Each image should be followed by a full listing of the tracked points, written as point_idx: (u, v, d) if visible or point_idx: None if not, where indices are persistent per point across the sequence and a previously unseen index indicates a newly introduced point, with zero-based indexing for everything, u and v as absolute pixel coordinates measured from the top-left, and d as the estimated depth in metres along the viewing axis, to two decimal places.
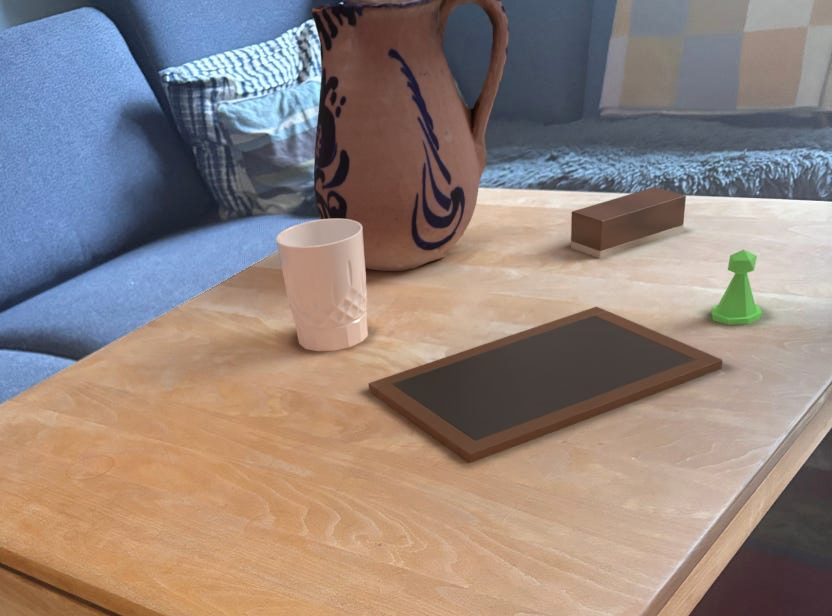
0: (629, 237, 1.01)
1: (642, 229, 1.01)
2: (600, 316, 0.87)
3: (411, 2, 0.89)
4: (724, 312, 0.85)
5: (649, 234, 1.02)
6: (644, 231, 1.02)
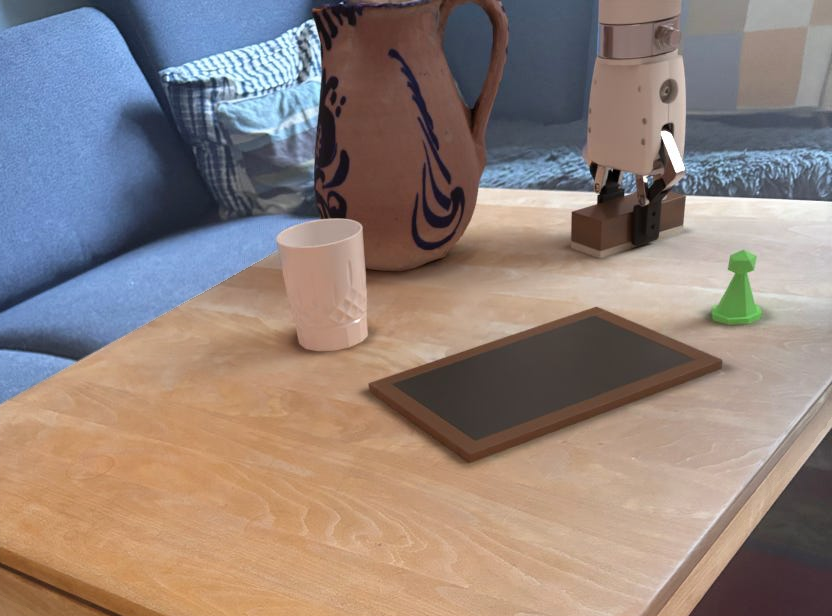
0: (629, 237, 1.01)
1: None
2: (600, 316, 0.87)
3: (411, 2, 0.89)
4: (724, 312, 0.85)
5: None
6: None
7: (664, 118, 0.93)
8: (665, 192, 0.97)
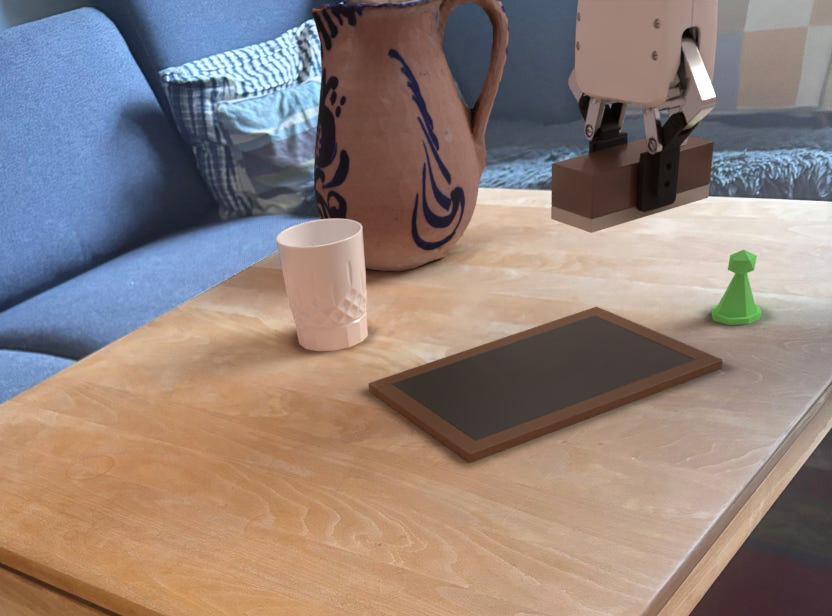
0: (633, 200, 0.71)
1: None
2: (600, 316, 0.87)
3: (411, 2, 0.89)
4: (724, 312, 0.85)
5: None
6: None
7: (686, 18, 0.63)
8: (686, 133, 0.67)
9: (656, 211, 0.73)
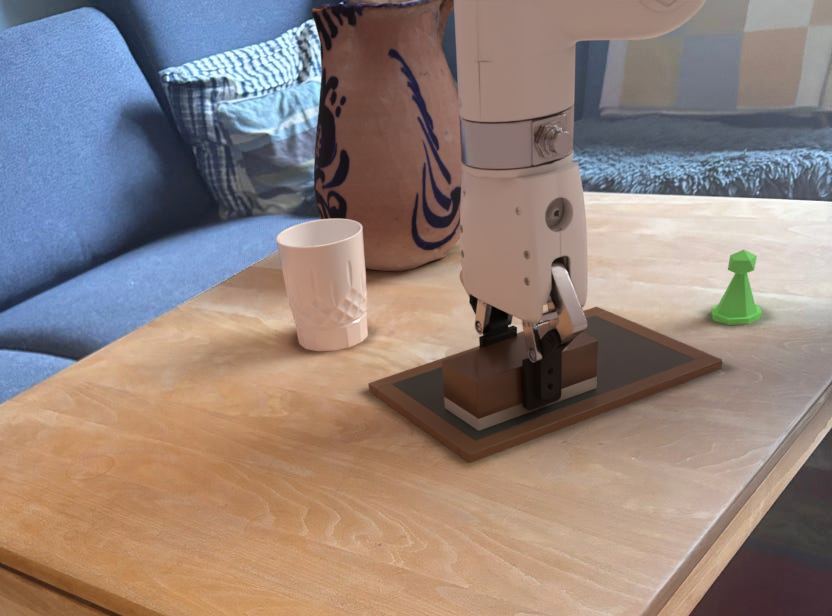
0: (519, 398, 0.74)
1: None
2: (600, 316, 0.87)
3: (411, 2, 0.89)
4: (724, 312, 0.85)
5: None
6: None
7: (555, 250, 0.65)
8: (563, 345, 0.70)
9: None
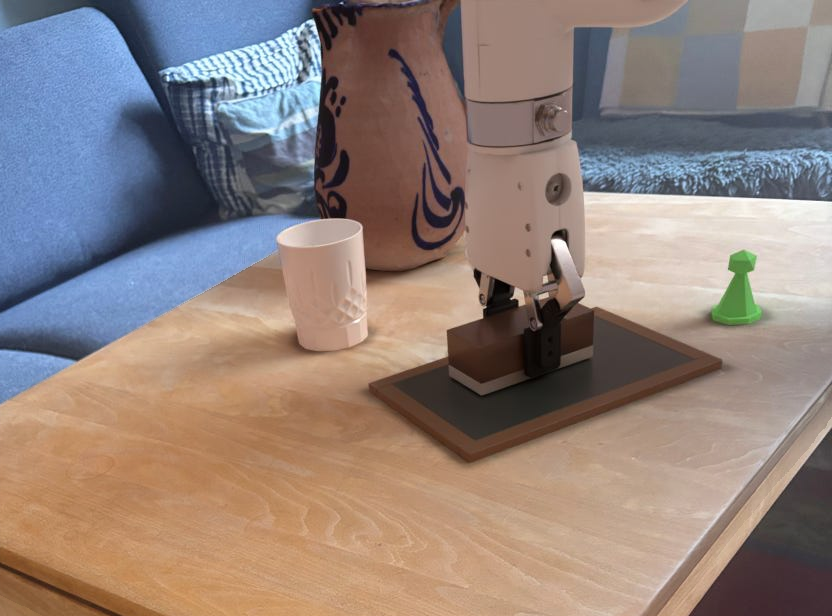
0: (520, 365, 0.78)
1: None
2: (600, 316, 0.87)
3: (411, 2, 0.89)
4: (724, 312, 0.85)
5: None
6: None
7: (554, 223, 0.69)
8: (562, 314, 0.74)
9: None
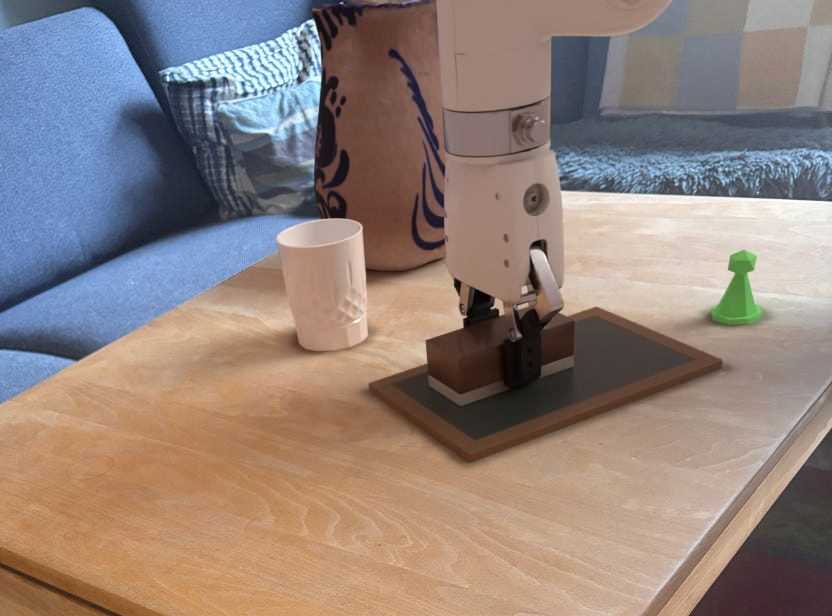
0: (499, 375, 0.77)
1: None
2: (600, 316, 0.87)
3: (411, 2, 0.89)
4: (724, 312, 0.85)
5: None
6: None
7: (533, 233, 0.69)
8: (542, 325, 0.73)
9: None
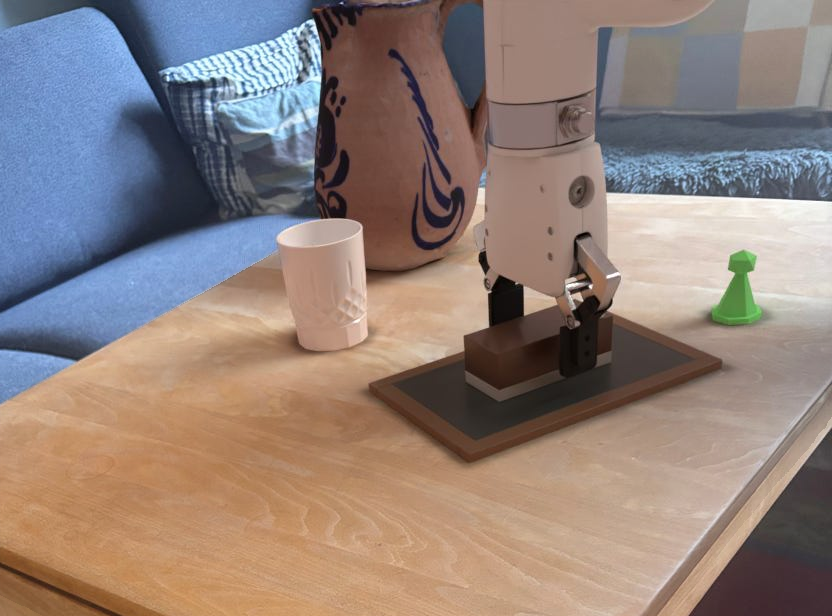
0: (538, 371, 0.77)
1: (555, 360, 0.77)
2: None
3: (411, 2, 0.89)
4: (724, 312, 0.85)
5: None
6: (558, 362, 0.77)
7: (577, 226, 0.68)
8: (601, 312, 0.71)
9: (561, 378, 0.78)
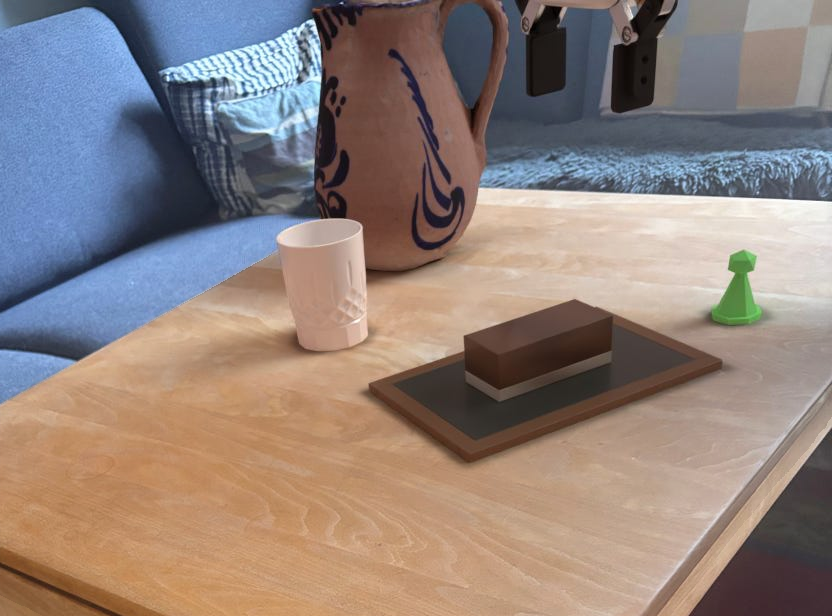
0: (538, 371, 0.77)
1: (555, 360, 0.77)
2: None
3: (411, 2, 0.89)
4: (724, 312, 0.85)
5: (565, 365, 0.78)
6: (558, 362, 0.77)
7: None
8: (663, 19, 0.61)
9: (561, 378, 0.78)
